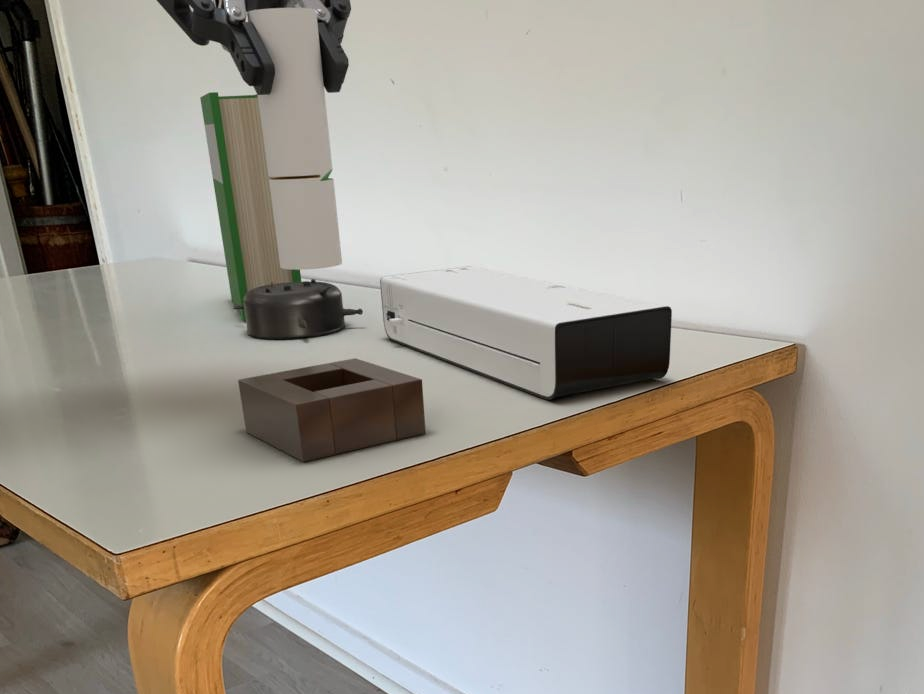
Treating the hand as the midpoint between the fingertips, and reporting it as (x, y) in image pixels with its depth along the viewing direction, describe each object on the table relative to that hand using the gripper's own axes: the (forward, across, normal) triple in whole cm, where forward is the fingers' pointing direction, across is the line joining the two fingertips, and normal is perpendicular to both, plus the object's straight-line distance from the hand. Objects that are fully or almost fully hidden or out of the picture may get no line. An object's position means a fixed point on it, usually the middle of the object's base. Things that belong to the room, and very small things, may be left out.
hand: (303, 81), depth 62 cm
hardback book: (-25, +20, +58) cm, 67 cm away
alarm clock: (-11, +18, +40) cm, 45 cm away
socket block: (+15, 0, +17) cm, 23 cm away
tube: (+7, 0, +9) cm, 11 cm away
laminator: (+8, +24, +25) cm, 35 cm away
